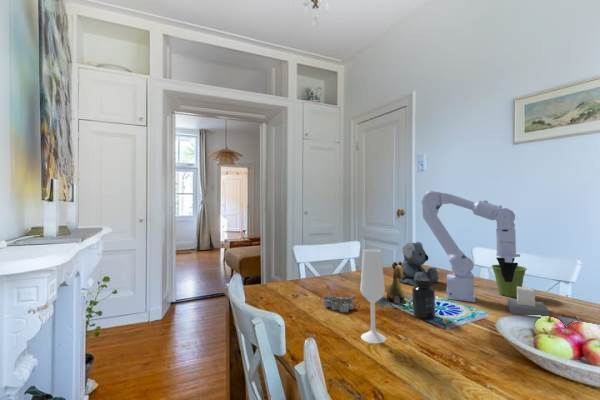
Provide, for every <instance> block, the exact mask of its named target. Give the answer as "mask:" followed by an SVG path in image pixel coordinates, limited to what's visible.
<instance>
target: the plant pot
mask: <svg viewBox="0 0 600 400" xmlns="http://www.w3.org/2000/svg"><path fill="white" fill-rule="evenodd" d="M491 268H492V270H493V273H494V276H495V281H496V286H497V289H498V294H499V295H503V296H505V297H508V298H509V297H511V298H517V286H518V287H523V285H524V284H523V283H524V279H525V278H524V276H525V273H526V271H527V270H528V268H527V267H525V266H521V265H518V266H517V267H516V269H515V271H514V276H513V280H512V282H505V281H504V278H503V277H502V273H501V269H500V265H499V264H492V265H491Z"/></svg>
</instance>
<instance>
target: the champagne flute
mask: <svg viewBox="0 0 600 400" xmlns="http://www.w3.org/2000/svg"><path fill="white" fill-rule="evenodd" d="M359 291H360V293H361V295H362V296H363V298H365V300H366V301H368V302H369V303H370V330H369V331H367V332H364V333H362V334H361V335H360V338H361V340H363V341H364V342H366V343H369V344H381V343H384V342H385V341H386V340H387V338H386V336H384V335H382V334H381V333H380V332H378V331H376V303H377V302H378V300H379V299H381V298H382V296H383V297H384V296H385V294H384V293H385V292H386V287H385V278H384V268H383V261H382V251H381V250H380V249H373V248H371V249H368V248H367V249H363V250H362V261H361V274H360V289H359Z"/></svg>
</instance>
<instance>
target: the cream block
mask: <svg viewBox="0 0 600 400" xmlns="http://www.w3.org/2000/svg"><path fill="white" fill-rule="evenodd" d="M516 299H517V302H518V304H519V305H526V306H533V307H535V301H536V291H535V289H534V288H532V287H524V286H522V287H518V286H517V297H516Z"/></svg>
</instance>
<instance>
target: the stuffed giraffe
mask: <svg viewBox="0 0 600 400" xmlns="http://www.w3.org/2000/svg"><path fill="white" fill-rule="evenodd" d="M402 263H403V262H402V261H399V262H396V261H394V262H393V263H392V264H391V268H392V270H393V274H392V283H390V285H388V287H387V291H386V293H387V294H386V296H385V295H383V296H382V298H381V299H379V300H378V301H377V302H378V303H379V305H380V308H381V309H385V307H390V308H391V309H394V308H395V309H401V308H400V307H398V306H399V305H398V304H400V303H402V304H404V302H405V301H404V299H405V297H407V298H406V300H407V301H409V300H412V299H413V297H412V295H409V294H407V293H404V292H403V290H402V286H401V282H400V281H399V279H401V278H402V276H403V269H402V267H403V266H404V264H402ZM402 304H401V305H402Z"/></svg>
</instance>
